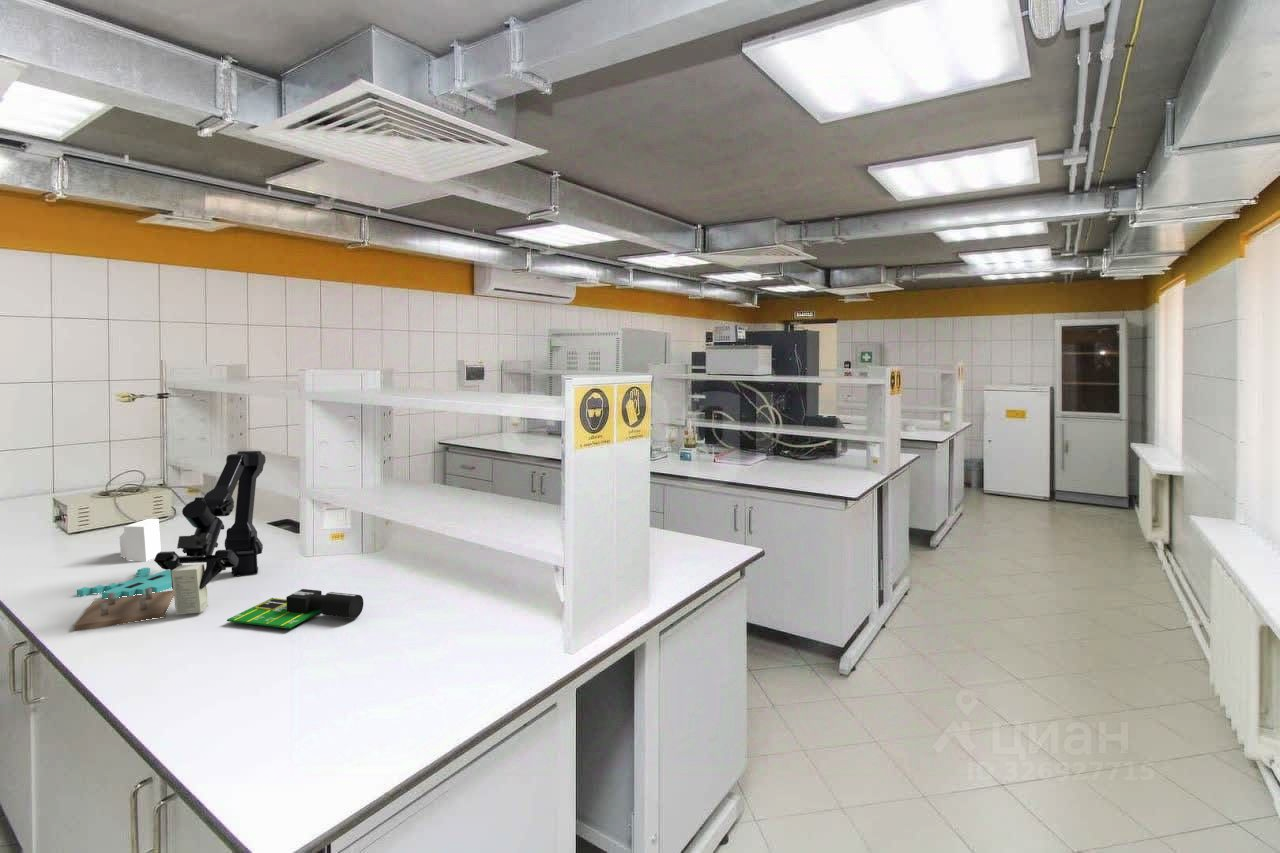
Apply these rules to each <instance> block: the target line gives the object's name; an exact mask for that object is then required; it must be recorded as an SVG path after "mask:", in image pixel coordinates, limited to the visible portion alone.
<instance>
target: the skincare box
mask: <svg viewBox="0 0 1280 853" xmlns="http://www.w3.org/2000/svg"><path fill="white" fill-rule="evenodd" d="M205 569H206V567H205V563H200V564H198V563H195V564H182V565H180V566H178V567H177V568H175V569H173V570H171V572H172V582H173V589H172V590H173V591H174V597H173V599H174V608H175V610H174V611H175V615H186V614H196V613H202V612H203V611H204V610H206V609H207V608H208V607H209V601H208V600H209V599H208V598H209V597H208V590H207V589H208V588H207V585H206V586H205V587H204V588H203V589H200V588H199V586H200V582H201V580H202V577H203V574H204V572H205Z"/></svg>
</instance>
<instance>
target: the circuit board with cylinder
mask: <svg viewBox="0 0 1280 853" xmlns="http://www.w3.org/2000/svg"><path fill="white" fill-rule="evenodd" d="M363 609H364V598H363V596H362V595H360V594H352V593H345V592H344V593H343V592H335V591H334V592H333V591H329V592H327V593H326V594H323V593H322V590H316V589H307V588H302V589H300V590H297V591H295V592H294V593H291V594H289V595H287V596H286V598H277V597H271V598H268V599H267V600H265V601H262V602H260V603H259V604H256V605H254V606H252V607H250V608H247V609H245V610H244V611H242V612H240V613H238V614H235V615H233V616H230V617H229V618H227V619H226V622H231V623H240V624H248V625H256V626H257V625H258V626H264V627H265V626H266V627H273V628H283V629H292V628H294V627H295V626H297V625H298V624H300V623H302V622H304V621H306V620H307V621H308V620H309V619H311V618H313V617H315V616H317V615H318V614H320V613H321V614H322V615H323V616H328V617H337V618H347V619H357V618H358V617H359V616H360V615H361V613H362V612H363Z"/></svg>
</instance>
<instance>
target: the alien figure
mask: <svg viewBox="0 0 1280 853" xmlns="http://www.w3.org/2000/svg"><path fill="white" fill-rule="evenodd" d="M149 573H150V574H151V568H150V567H142V568H139V569H137V572H136V573H135V575H134V578H132V579H129V580H126V581H124V582H120V583H116V582H113V583H110V584H107V585H103V584H102V585H101V584H98V585H96V586H93V587H87V586H84V587H80V588H78V589H76V596H77V595H80V596H79V597H85V596H84V595H86V596H88V595H87V594H89V595H91V594H90V593H97V594H96V595H99V594H98V593H100V594H101V598H108V593H112V592H114V593H115V598H119V597H122V596H133V595H135V594H146V592H145V589H146V588H152V592H155V593H157V592H160V591H162V592H164V591H163V590H165V591H167V590H170V589H172V588H171V587H172V578H171V571H170V570H165V569H164V570H163V571H160V572H157V573H155V574H151V575H150V574H149ZM169 588H170V589H169ZM166 589H167V590H166ZM104 591H105V592H104ZM101 592H102V593H101Z"/></svg>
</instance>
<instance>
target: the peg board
mask: <svg viewBox="0 0 1280 853" xmlns="http://www.w3.org/2000/svg"><path fill="white" fill-rule="evenodd" d="M145 592H146V594H142V595H135V596H127V597H120V598H115V593H114V592H112V593H108V599H98V600H93V601H91V603H90V604H89V606H88V607H87V608H86V610H85V611H84V612H83V614H82V615H81V616H79V619H77V621H76V623H75V624H74V625H73V629H74V632H78V631H84V630H85V631H86V630H92V629H96V628H97V629H99V628H104V627H110V626H111V627H112V625H113V626H117V624H119V625H124V624H123V623H126V624H129V623H128V622H133V623H136V622H135V621H139V622H142V621H141V620H146V619H152V618H159V619H161V618H160V617H164V618H165V616H166V614H167V612H168V610H167V609H169V608H170V606H169V605H171V603H172V601H173V599H174V597H173V596H174V591H173V589H172V590H165V591H162V592H157V593H152V588H146V589H145ZM172 598H173V599H172ZM171 600H172V601H171ZM170 602H171V603H170ZM168 607H169V608H168ZM166 611H167V612H166ZM165 613H166V614H165ZM164 615H165V616H164ZM152 620H153V619H152ZM146 621H147V620H146Z"/></svg>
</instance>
